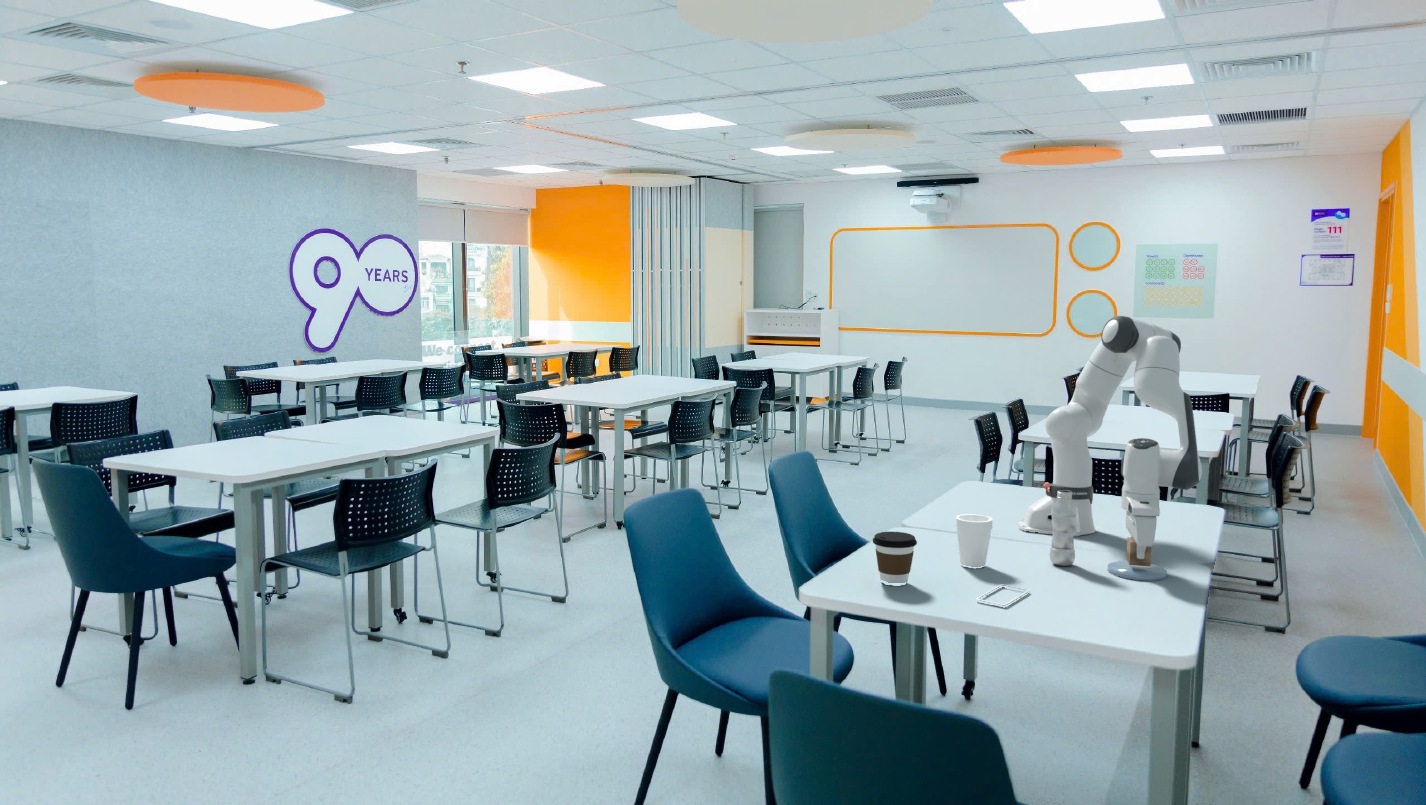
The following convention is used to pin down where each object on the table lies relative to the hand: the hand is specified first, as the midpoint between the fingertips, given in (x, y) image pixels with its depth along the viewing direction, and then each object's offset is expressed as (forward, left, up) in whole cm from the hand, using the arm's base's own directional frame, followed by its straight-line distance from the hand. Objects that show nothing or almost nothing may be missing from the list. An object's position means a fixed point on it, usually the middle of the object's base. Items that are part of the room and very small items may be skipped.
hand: (1137, 554), depth 240 cm
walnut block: (0, 0, -2) cm, 2 cm away
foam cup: (-41, -4, -5) cm, 42 cm away
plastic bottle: (-18, +3, -5) cm, 19 cm away
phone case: (-34, -30, -6) cm, 46 cm away
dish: (0, 0, -5) cm, 5 cm away
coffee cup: (-60, -25, -5) cm, 65 cm away
